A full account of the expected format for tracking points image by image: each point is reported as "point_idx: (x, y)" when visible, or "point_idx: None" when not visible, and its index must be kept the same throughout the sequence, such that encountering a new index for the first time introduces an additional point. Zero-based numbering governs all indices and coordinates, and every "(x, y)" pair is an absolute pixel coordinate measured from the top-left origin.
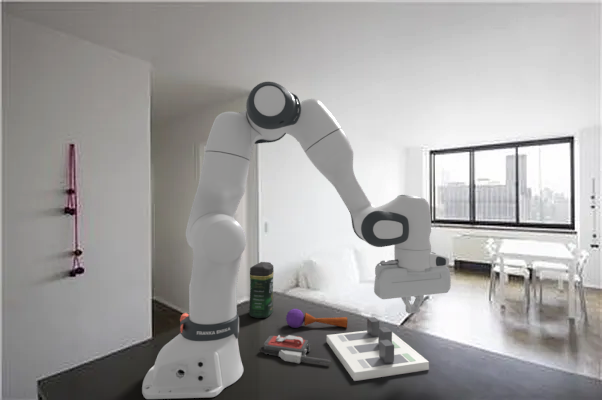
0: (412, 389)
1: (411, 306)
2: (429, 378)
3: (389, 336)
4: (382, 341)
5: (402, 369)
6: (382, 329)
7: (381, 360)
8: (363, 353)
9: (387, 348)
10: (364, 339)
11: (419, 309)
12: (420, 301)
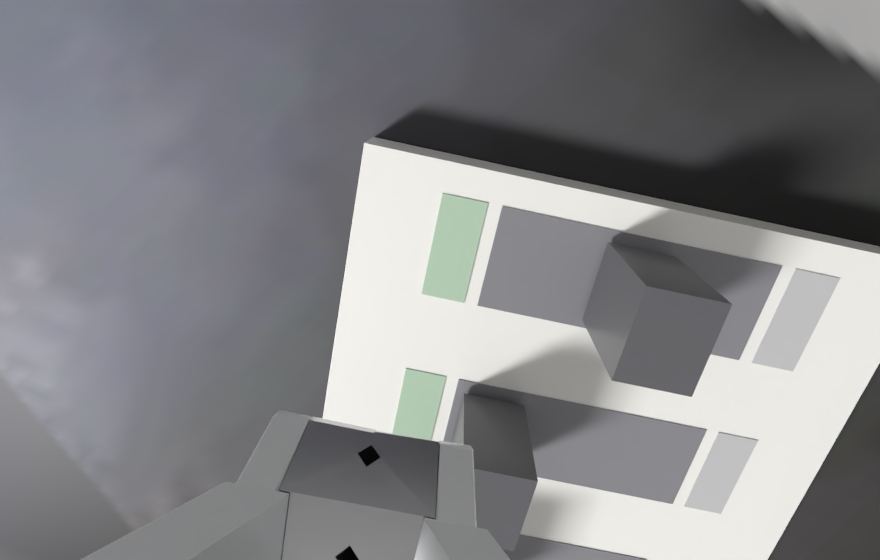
0: (654, 12)
1: (430, 526)
2: (450, 57)
3: (485, 444)
4: (681, 375)
5: (574, 183)
6: (508, 519)
7: None
8: (689, 413)
9: (702, 291)
10: (546, 533)
11: (262, 436)
12: (167, 558)
